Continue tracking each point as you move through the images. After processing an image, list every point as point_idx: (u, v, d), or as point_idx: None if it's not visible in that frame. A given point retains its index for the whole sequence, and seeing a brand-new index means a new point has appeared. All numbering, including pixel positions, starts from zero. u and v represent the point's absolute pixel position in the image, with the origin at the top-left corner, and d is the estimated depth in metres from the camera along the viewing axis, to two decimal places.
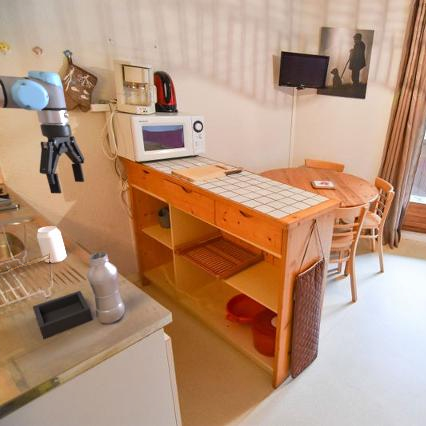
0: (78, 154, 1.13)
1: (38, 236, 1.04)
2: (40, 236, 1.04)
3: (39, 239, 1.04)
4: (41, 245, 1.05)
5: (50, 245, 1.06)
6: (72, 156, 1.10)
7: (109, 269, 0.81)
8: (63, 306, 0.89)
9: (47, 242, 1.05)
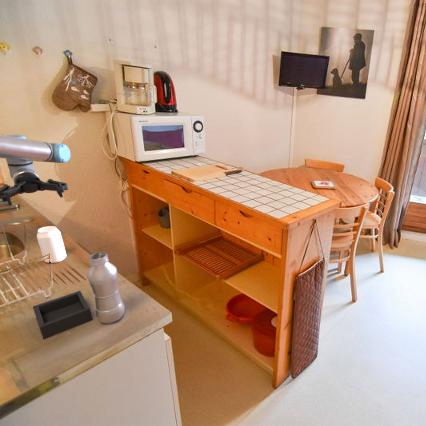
0: None
1: (38, 236, 1.04)
2: (40, 236, 1.04)
3: (39, 239, 1.04)
4: (41, 245, 1.05)
5: (50, 245, 1.06)
6: (14, 193, 1.12)
7: (109, 269, 0.81)
8: (63, 306, 0.89)
9: (47, 242, 1.05)
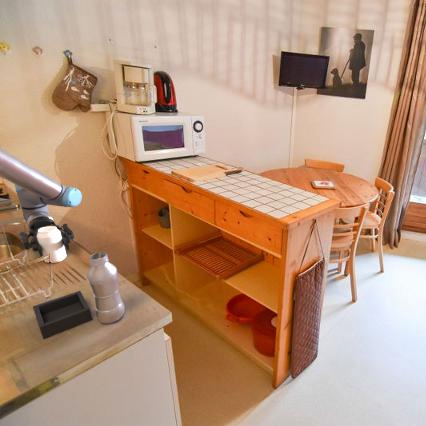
0: None
1: (38, 236, 1.04)
2: (40, 236, 1.04)
3: (39, 239, 1.04)
4: (41, 245, 1.05)
5: (50, 245, 1.06)
6: None
7: (109, 269, 0.81)
8: (63, 306, 0.89)
9: (47, 242, 1.05)
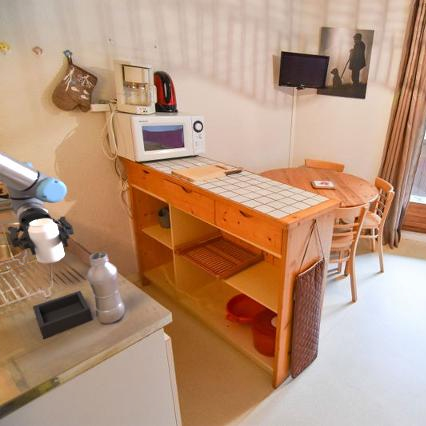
0: None
1: (30, 231, 0.85)
2: (33, 230, 0.85)
3: (31, 234, 0.85)
4: (34, 241, 0.86)
5: (44, 241, 0.87)
6: None
7: (109, 269, 0.81)
8: (63, 306, 0.89)
9: (41, 238, 0.86)
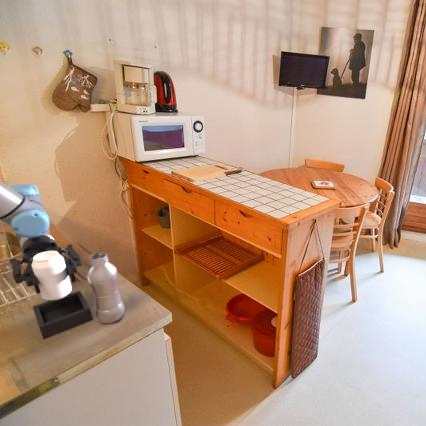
0: None
1: (34, 266, 0.76)
2: (37, 266, 0.76)
3: (35, 270, 0.77)
4: (38, 278, 0.77)
5: (49, 277, 0.78)
6: None
7: (109, 269, 0.81)
8: (63, 306, 0.89)
9: (46, 274, 0.77)
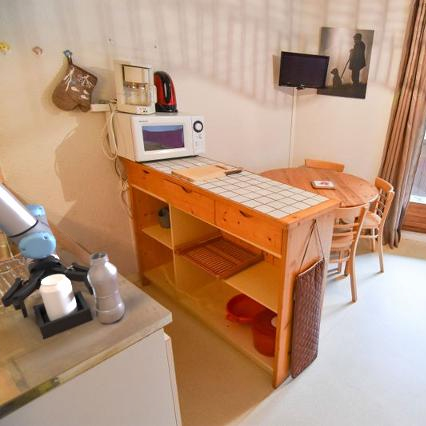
0: None
1: (41, 290, 0.79)
2: (45, 290, 0.79)
3: (43, 294, 0.79)
4: (45, 301, 0.80)
5: (57, 300, 0.81)
6: (29, 292, 0.84)
7: (109, 269, 0.81)
8: None
9: (54, 297, 0.80)
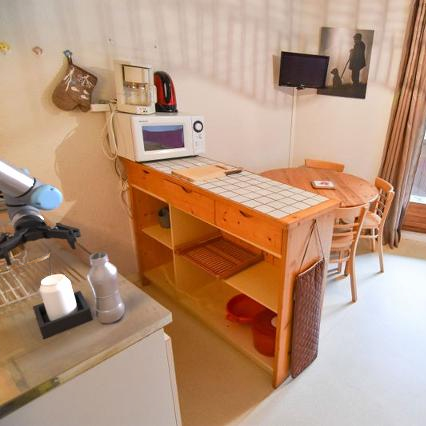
0: None
1: (41, 290, 0.79)
2: (45, 290, 0.79)
3: (43, 294, 0.79)
4: (45, 301, 0.80)
5: (57, 300, 0.81)
6: (14, 245, 0.88)
7: (109, 269, 0.81)
8: None
9: (54, 297, 0.80)
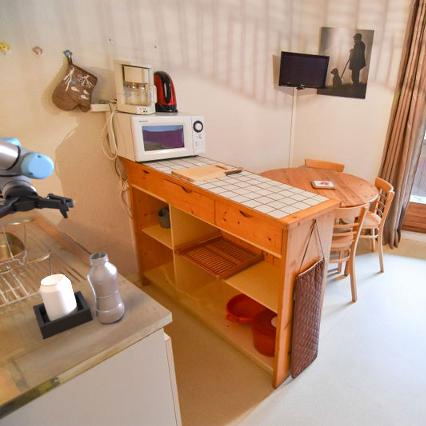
0: None
1: (42, 290, 0.79)
2: (45, 290, 0.79)
3: (43, 294, 0.79)
4: (45, 301, 0.80)
5: (57, 300, 0.81)
6: (3, 213, 0.85)
7: (109, 269, 0.81)
8: None
9: (54, 297, 0.80)
